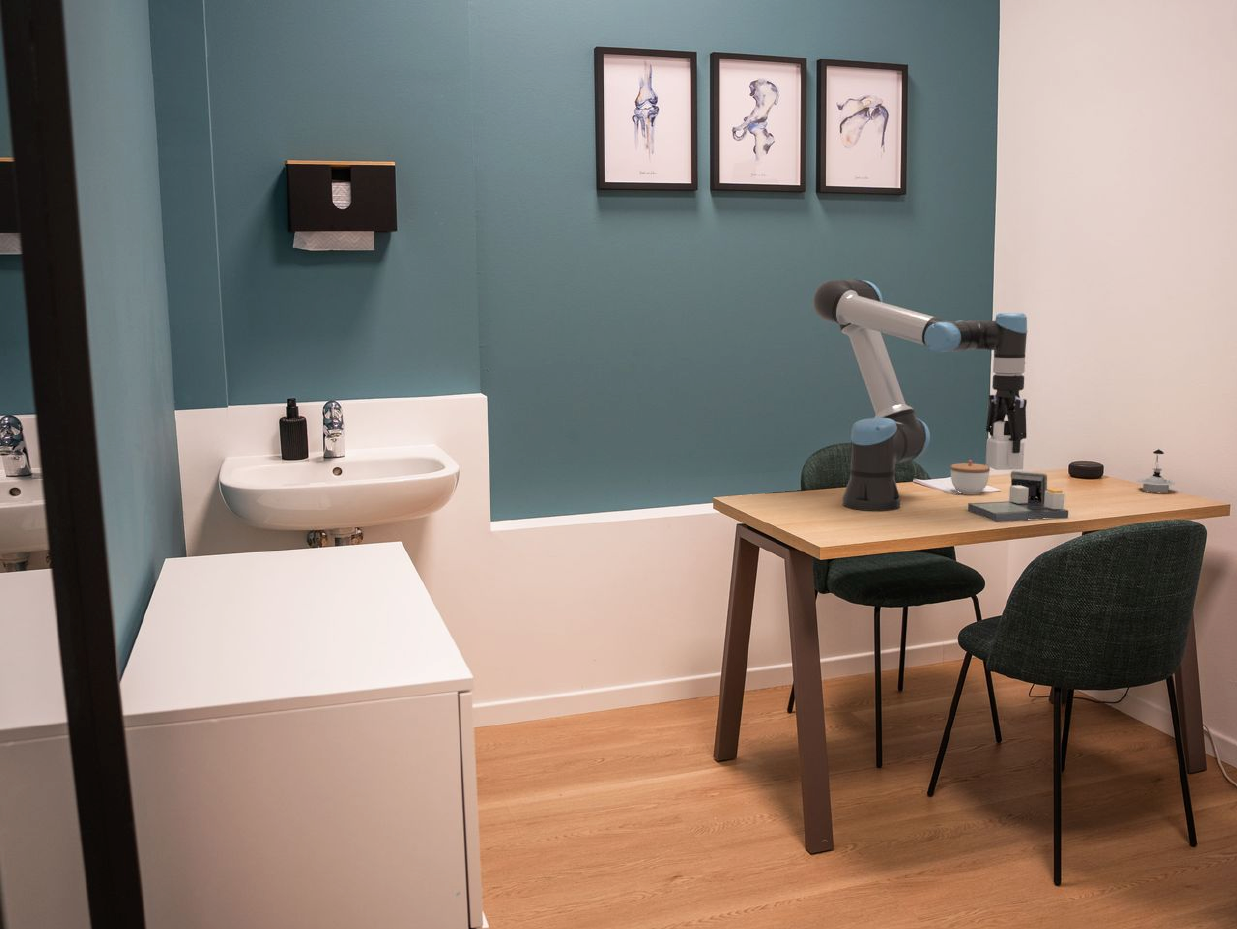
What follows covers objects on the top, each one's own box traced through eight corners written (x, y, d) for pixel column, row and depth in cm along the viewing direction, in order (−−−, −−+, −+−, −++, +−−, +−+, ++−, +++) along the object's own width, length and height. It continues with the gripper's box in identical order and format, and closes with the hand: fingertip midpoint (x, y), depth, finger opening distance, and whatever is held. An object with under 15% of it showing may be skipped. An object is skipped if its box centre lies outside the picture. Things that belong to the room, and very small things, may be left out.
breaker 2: (1052, 509, 265) (1054, 491, 264) (1043, 506, 269) (1044, 488, 268) (1063, 508, 266) (1064, 491, 265) (1054, 505, 270) (1055, 488, 269)
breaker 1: (1017, 503, 273) (1018, 488, 272) (1009, 500, 276) (1009, 485, 276) (1027, 503, 273) (1028, 488, 272) (1019, 500, 277) (1020, 485, 276)
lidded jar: (983, 489, 305) (985, 457, 303) (992, 496, 294) (994, 463, 293) (946, 488, 306) (947, 457, 304) (953, 495, 295) (955, 463, 294)
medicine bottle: (1012, 464, 271) (1014, 419, 269) (1023, 469, 264) (1026, 422, 262) (985, 465, 271) (987, 419, 269) (995, 470, 264) (998, 423, 262)
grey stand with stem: (1185, 451, 293) (1167, 446, 303) (1150, 451, 293) (1132, 446, 303) (1182, 494, 295) (1163, 487, 305) (1146, 494, 295) (1129, 488, 305)
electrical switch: (1047, 504, 283) (1048, 471, 280) (1043, 509, 278) (1044, 476, 276) (1011, 501, 288) (1012, 468, 285) (1007, 506, 283) (1008, 473, 281)
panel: (996, 521, 262) (996, 514, 261) (967, 510, 275) (968, 503, 275) (1067, 518, 265) (1068, 510, 265) (1036, 507, 279) (1036, 499, 278)
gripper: (1045, 377, 254) (1040, 468, 258) (1000, 371, 274) (996, 456, 278) (1017, 377, 253) (1012, 470, 256) (974, 371, 273) (970, 457, 276)
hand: (1004, 462), depth 267 cm, fingers closed on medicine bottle, 8 cm apart
